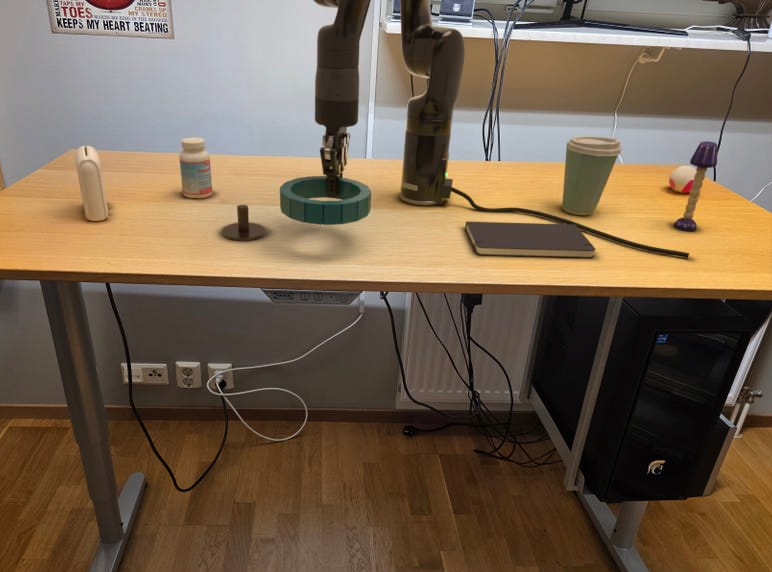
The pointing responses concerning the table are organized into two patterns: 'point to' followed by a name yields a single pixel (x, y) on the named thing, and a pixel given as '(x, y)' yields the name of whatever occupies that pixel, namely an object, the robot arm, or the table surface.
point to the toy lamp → (697, 182)
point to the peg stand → (243, 227)
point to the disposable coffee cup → (587, 172)
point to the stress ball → (682, 179)
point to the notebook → (528, 240)
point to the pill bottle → (195, 168)
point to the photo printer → (91, 183)
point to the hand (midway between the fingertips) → (334, 193)
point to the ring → (324, 212)
